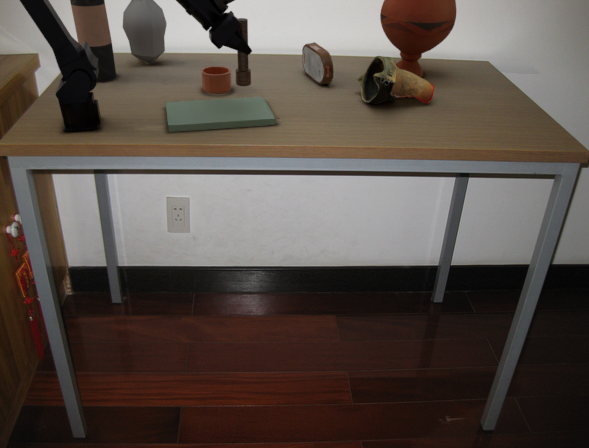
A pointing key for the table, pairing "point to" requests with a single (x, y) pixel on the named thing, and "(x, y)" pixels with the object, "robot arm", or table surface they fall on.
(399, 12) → the goblet
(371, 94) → the pot
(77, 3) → the travel mug
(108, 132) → the table surface
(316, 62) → the tin
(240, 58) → the stirrer
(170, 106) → the board
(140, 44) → the grey tall faceted solid
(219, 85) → the cup
